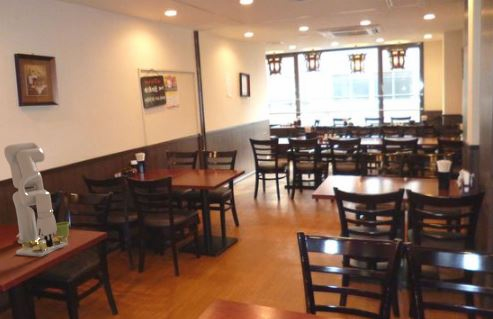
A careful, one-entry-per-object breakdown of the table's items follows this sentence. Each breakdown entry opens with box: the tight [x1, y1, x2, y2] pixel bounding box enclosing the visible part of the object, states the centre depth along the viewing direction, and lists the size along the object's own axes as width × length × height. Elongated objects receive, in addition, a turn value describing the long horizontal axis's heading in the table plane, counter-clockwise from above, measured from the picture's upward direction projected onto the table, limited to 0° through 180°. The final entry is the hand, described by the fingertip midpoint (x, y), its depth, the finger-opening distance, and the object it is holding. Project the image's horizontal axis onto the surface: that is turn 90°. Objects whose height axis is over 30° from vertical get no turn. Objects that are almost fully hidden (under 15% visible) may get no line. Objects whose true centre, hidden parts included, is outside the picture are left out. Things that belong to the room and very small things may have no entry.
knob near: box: [21, 240, 39, 249], centre depth 250 cm, size 10×4×3 cm, turn 159°
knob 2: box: [52, 236, 69, 243], centre depth 254 cm, size 10×4×3 cm, turn 69°
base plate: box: [15, 239, 69, 258], centre depth 250 cm, size 18×20×4 cm
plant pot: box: [56, 221, 71, 238], centre depth 270 cm, size 9×9×9 cm
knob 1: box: [33, 243, 53, 251], centre depth 243 cm, size 10×4×3 cm, turn 116°
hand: (49, 246), depth 242 cm, fingers closed
